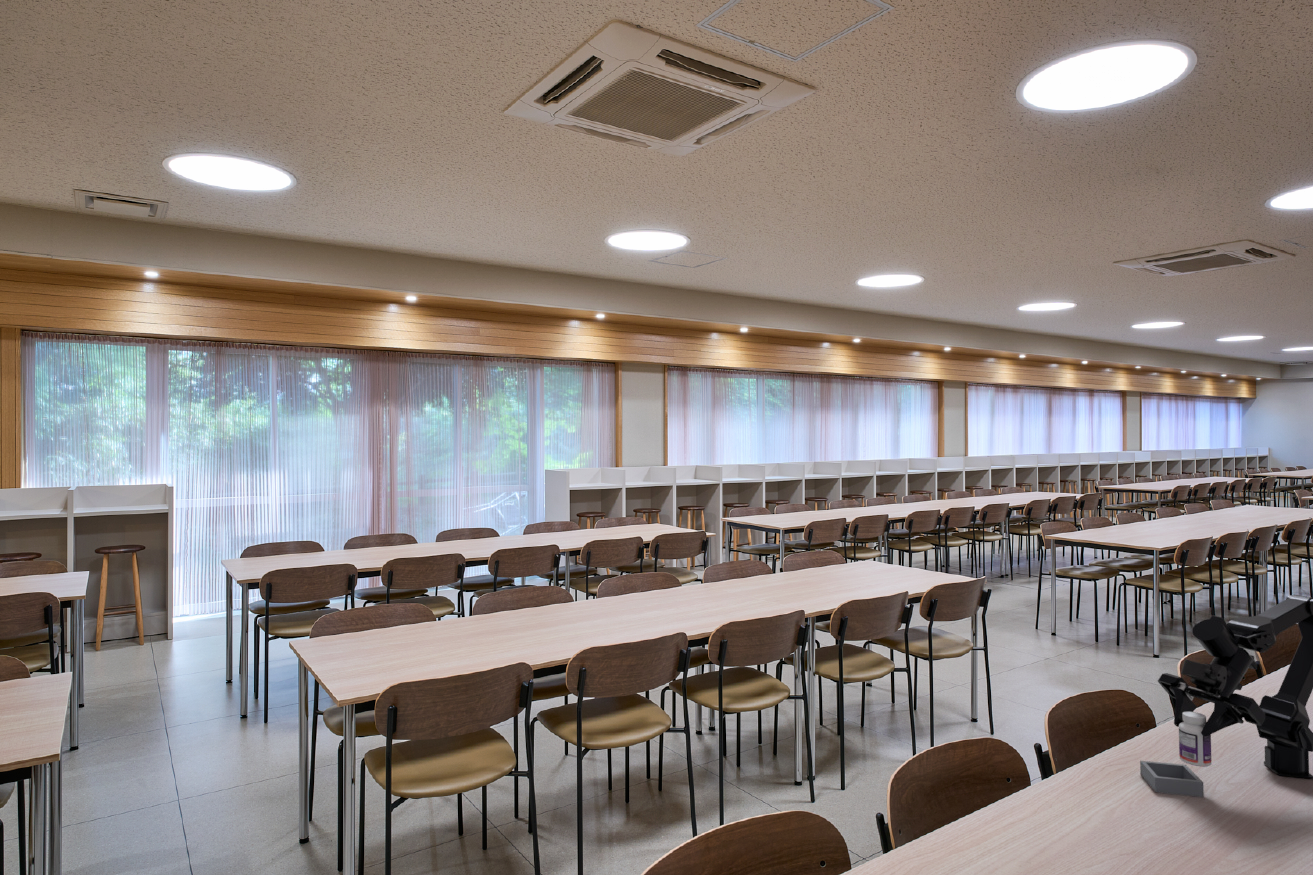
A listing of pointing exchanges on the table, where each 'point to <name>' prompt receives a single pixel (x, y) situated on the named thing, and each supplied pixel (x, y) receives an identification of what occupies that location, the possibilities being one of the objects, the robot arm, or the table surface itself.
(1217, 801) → the table surface
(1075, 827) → the table surface
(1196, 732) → the pill bottle
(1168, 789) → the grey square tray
